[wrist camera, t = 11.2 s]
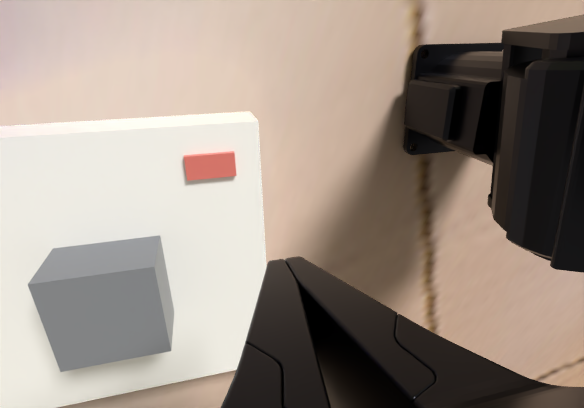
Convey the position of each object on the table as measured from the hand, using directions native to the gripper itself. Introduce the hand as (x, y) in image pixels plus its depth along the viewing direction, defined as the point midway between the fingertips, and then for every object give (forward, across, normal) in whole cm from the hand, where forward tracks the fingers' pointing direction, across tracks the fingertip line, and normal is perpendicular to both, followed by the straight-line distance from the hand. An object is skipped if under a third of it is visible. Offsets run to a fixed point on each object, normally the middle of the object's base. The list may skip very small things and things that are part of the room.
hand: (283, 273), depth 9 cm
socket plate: (+13, +7, +6) cm, 16 cm away
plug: (+13, +7, +6) cm, 16 cm away
